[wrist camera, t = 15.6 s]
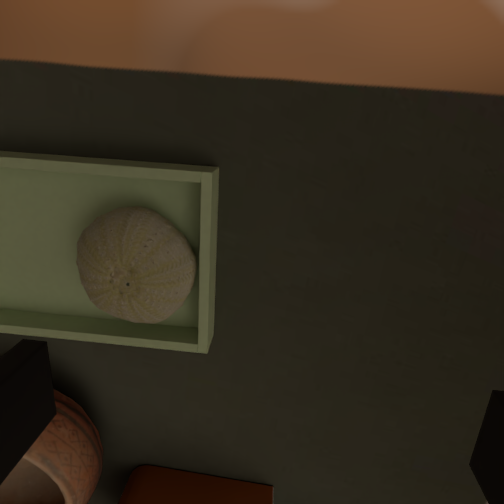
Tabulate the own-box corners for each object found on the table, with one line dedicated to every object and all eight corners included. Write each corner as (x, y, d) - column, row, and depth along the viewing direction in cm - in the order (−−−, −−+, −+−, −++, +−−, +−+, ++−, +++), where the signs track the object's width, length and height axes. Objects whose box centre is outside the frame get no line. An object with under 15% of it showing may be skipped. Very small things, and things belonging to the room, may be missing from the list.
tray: (219, 166, 30) (212, 172, 27) (213, 334, 35) (207, 353, 32) (-52, 146, 31) (-86, 150, 28) (-20, 311, 36) (-47, 328, 33)
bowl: (103, 494, 42) (50, 602, 33) (-38, 448, 42) (-131, 545, 33) (135, 382, 37) (83, 473, 28) (-26, 328, 37) (-134, 403, 27)
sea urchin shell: (151, 176, 28) (167, 275, 24) (202, 225, 35) (221, 308, 31) (49, 226, 30) (48, 324, 26) (116, 263, 37) (123, 345, 33)
